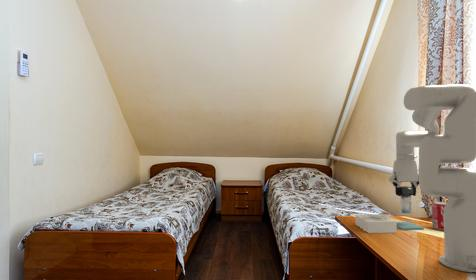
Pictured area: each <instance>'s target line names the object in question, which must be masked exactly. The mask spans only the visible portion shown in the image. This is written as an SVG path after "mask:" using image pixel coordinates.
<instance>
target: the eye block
mask: <svg viewBox="0 0 476 280" xmlns="http://www.w3.org/2000/svg"><path fill="white" fill-rule="evenodd" d="M397 222H398V221H396V220H394V219H392V218H390V217H388V216H386V215H384V214H381V213H380V214H379V213H378V214H355V226H356V225H357V226H356V227H358V226H359V227H360V228H359V227H358V228H359V229H361V228H362V229H363V230H362V229H361V230H362V231H364V232H365V231H366V232H365V233H367V232H368V233H367V234H386V233H387V234H391V233H392V234H395V233H396V234H397V231H398V228H397Z"/></svg>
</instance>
